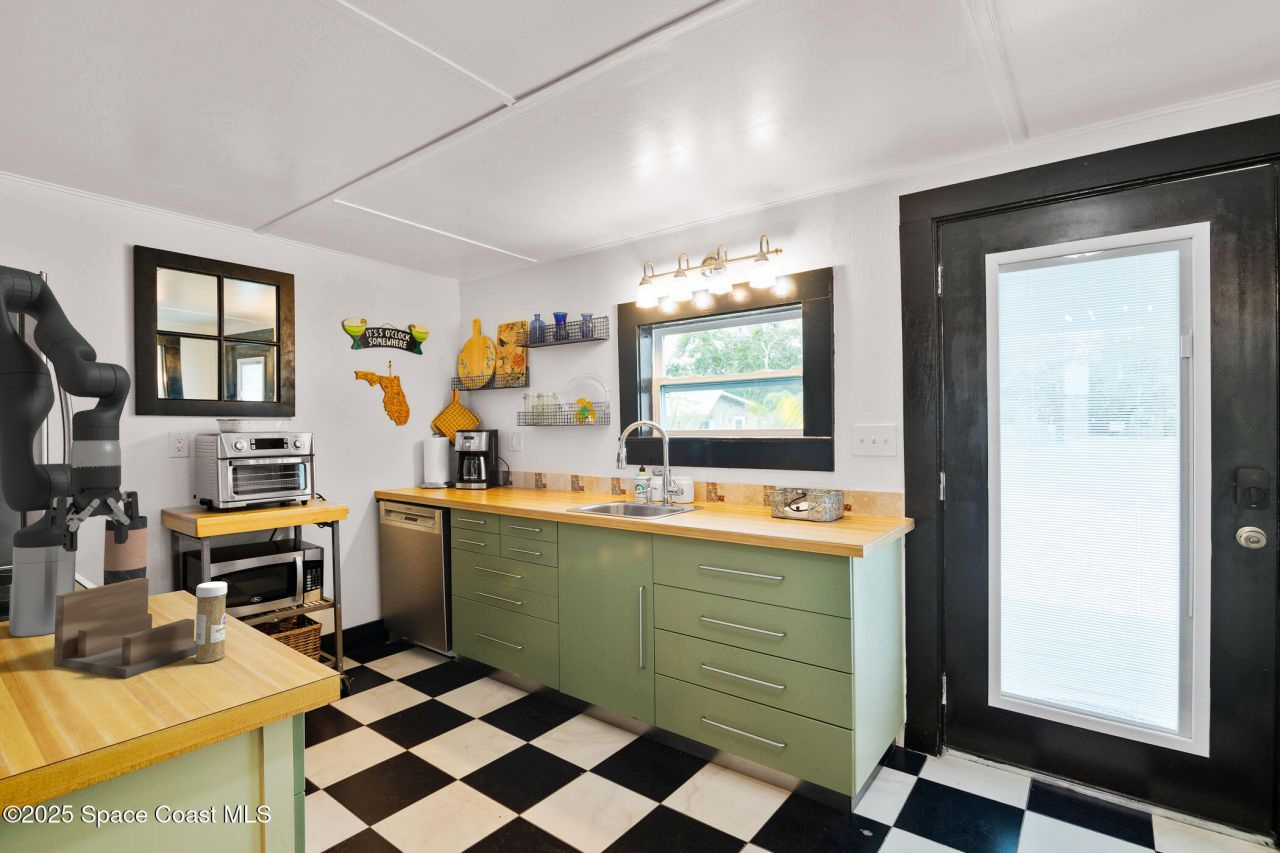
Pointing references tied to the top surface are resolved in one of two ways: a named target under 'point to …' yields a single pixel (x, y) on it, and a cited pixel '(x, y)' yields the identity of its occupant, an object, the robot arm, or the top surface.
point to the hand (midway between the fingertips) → (96, 547)
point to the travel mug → (125, 553)
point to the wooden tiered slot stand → (116, 631)
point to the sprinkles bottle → (210, 621)
